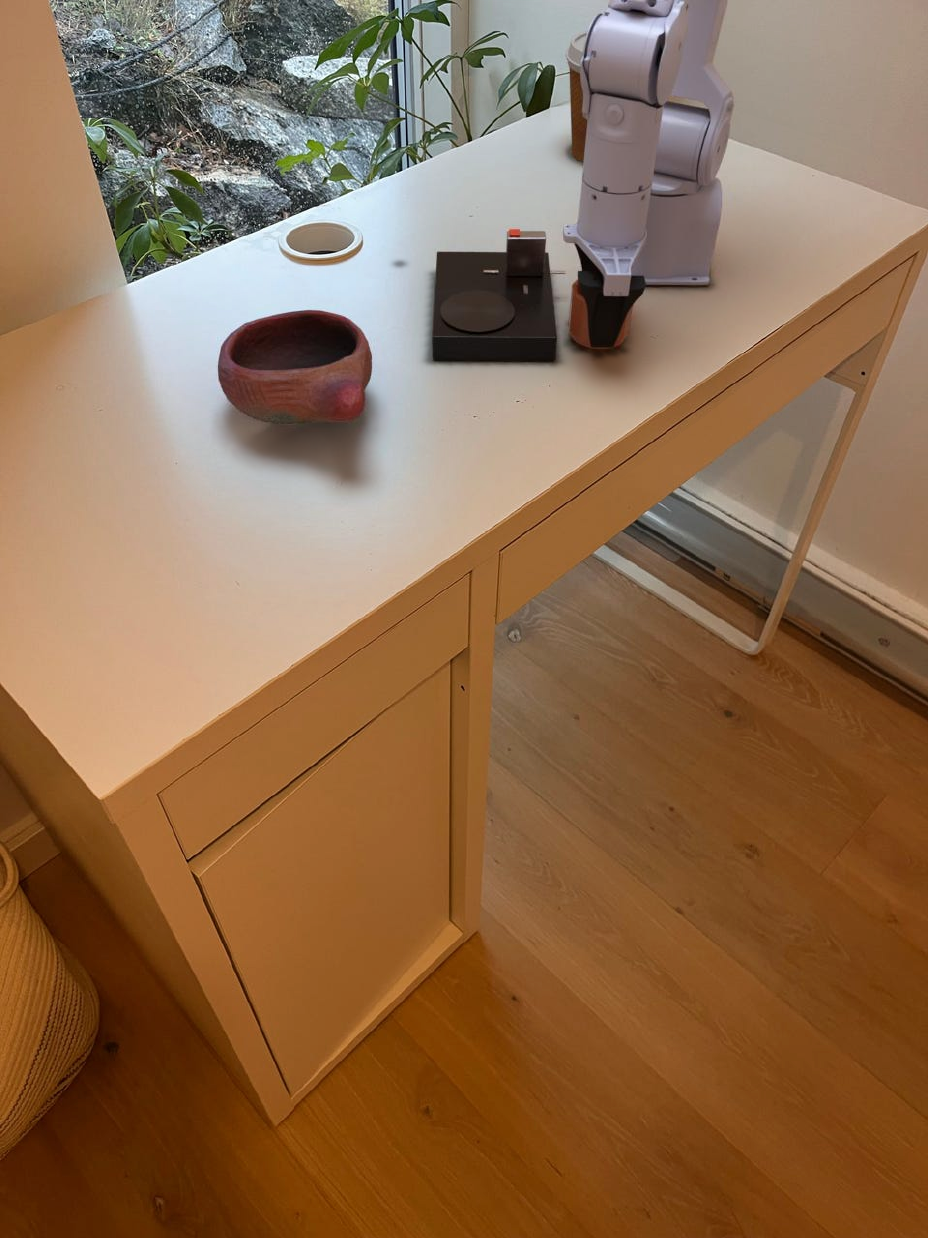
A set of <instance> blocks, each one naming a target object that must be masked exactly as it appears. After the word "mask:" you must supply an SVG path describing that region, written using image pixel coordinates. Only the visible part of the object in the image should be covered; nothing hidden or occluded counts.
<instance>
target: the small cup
mask: <svg viewBox="0 0 928 1238" xmlns="http://www.w3.org/2000/svg"><path fill="white" fill-rule="evenodd" d="M570 292H571V293H570V304H569V306H570V307H569V313H568V314H569V315H568V324H567V325H568V332H569V334H570V336H571V338H572V339H573V341H574V342H576V343H577V344H578V345H581V346H583V347H586V348H588V349H593V350H594V349H595V350H607V349H609V348H605V347H591V345H590V340H589V333H588V314H587V306H586V302H585V299H584V297H583V295H582V293H581V290H580V287H579V283H578V278H577V279H576V280H575V281H574V282H573V283H572V285H571V291H570ZM634 306H635V303H634V304H633V306H632V307H631V309H630V311H629V312H628V314H627V316H626V318H625V321H624V323H623V326H622V328H621V331H620V333H619V336H618V338H617V340H616V343H615V345H614V346H613V347H612V348H613V349H614V348H615V347H618V346H620V345H621V344H623V343H624V341H625V340H626V338H627V336H628V335H629V334H630V332H631V331H630V330H631V324H632V318H633V310H634ZM612 348H611V349H612Z"/></svg>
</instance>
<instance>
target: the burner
mask: <svg viewBox="0 0 928 1238" xmlns="http://www.w3.org/2000/svg"><path fill="white" fill-rule="evenodd" d="M440 315H441V318H442V319H443V321H444V322H445V323H446V324H447V325H449V326H450V327H452V328H454V329H457V330H460V331H463V332H469V333H487V332H493V331H496V330H499V329H502V328H504V327H505V326H507V325H508V324H509V323H511V321H512V320H513V318H514V316H515V308H514V306H513V304H512V303H511V302H510V301H509V300H508V299H507V298H505V297H503V296H501V295H499V294H496V293H492V292H487V291H467V292H462V293H458V294H455V295H453V296H451V297H449V298H448V299H446V300H445V301H444V302H443V304H442V305H441V308H440Z"/></svg>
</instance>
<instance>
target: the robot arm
mask: <svg viewBox="0 0 928 1238" xmlns="http://www.w3.org/2000/svg"><path fill="white" fill-rule="evenodd" d="M728 3H729V0H609V1H608V6H607V8H606V9H605V11H604V13H602V12H598V13H597V14H596V15H594V17H593V18H592V20H591V21H590V24H589V26H588V29H587V30H586V31H587V34H586V38H585V42H584V47H583V52H582V59H581V64H580V80H581V87H582V90H583V106H582V113H583V117H585V118H586V119H588V121H587V131H586V141H585V152H584V162H582V174H581V175H582V176H581V184H580V196H579V206H578V216H577V222H576V223H573V224H572V223H570V224H569V223H567V224H565V225H563V226H562V227H563V228H562V239H563V242H565V243H566V244H574V246H575V248H576V251H577V254H578V258H579V262H580V268H581V269H580V270H578V271H577V279H578V283H579V287H580V290H581V293H582V295H583V297H584V299H585V302H586V306H587V314H588V333H589V340H590V345H591V347H605V348H608V349H612V347H613V346H614V345H615V343H616V340H617V338H618V336H619V333H620V331H621V328H622V326H623V323H624V321H625V318H626V316H627V314H628V312H629V311H630V309H631V307H632V306H633V307H634V305H635V303H636V302H637V301H638V300H639V298H641V297H642V296H643V294H644V292H645V290H646V285H647V286H650V285H651V286H660V285H661V286H707V285H709V284H710V280H711V279H710V272H711V268H712V262H713V258H714V252H715V248H716V243H717V238H718V235H719V234H718V233H719V230H720V226H721V225H720V224H721V219H722V209H723V186H722V182H721V180H720V178H719V177H717V176H718V173H719V171H720V168H721V166H722V163H723V160H724V157H725V154H726V151H727V146H728V142H729V137H730V133H731V121H732V115H733V111H734V107H735V102H734V99H735V98H734V95H733V91H732V89H731V87H730V86H729V85H728V84H727V82H726V81H725V79H724V78H723V77H722V76H721V75H720V73H719V71H717V68H715V66H714V63H713V62H714V59H715V55H716V51H717V47H718V44H719V39H720V35H721V30H722V27H723V23H724V19H725V14H726V10H727V7H728ZM670 96H671V97H675V98H681V99H687V100H692V101H697V102H699V103H702V104H703V105H705V106H706V107H700V106H694V105H691V104H690V105H689V104H684V103H679V102H674V101H669V98H670ZM633 304H634V305H633ZM613 348H614V347H613Z"/></svg>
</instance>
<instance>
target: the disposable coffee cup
mask: <svg viewBox="0 0 928 1238" xmlns="http://www.w3.org/2000/svg"><path fill="white" fill-rule="evenodd" d="M587 31H588V30H586V31H582V32H579V33H577V34H576V35H574V36H573V37H572V38H571V39H570V43H569V47H568V49H566V52H565V58H566V60H567V65H568V68H569V96H570V99H569V101H570V102H569V103H570V127H571V128H570V130H571V134H570V135H571V154H572V156H573V157H574V158H575V159H576V160H577V161H579V162H582V163H583V162H584V152H585V141H586V131H587V121H588V119H586V118H585V117H583V113H582V106H583V90H582V87H581V80H580V64H581V59H582V52H583V47H584V42H585V38H586V34H587Z"/></svg>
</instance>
